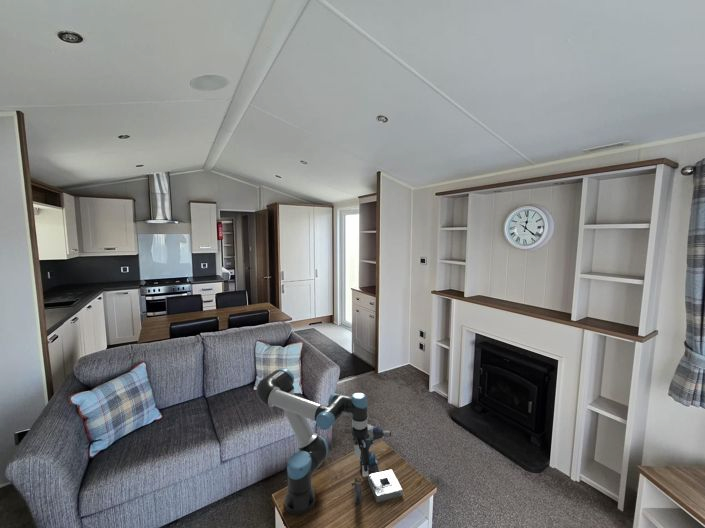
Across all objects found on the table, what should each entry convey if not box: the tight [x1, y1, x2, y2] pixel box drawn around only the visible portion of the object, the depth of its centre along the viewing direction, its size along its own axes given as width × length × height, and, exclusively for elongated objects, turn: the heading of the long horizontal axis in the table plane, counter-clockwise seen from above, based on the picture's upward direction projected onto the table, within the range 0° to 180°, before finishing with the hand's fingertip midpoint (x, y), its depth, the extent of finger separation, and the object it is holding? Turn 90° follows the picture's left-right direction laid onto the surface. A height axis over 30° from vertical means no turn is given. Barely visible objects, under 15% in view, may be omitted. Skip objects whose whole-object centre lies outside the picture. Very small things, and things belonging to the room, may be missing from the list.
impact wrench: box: [351, 424, 392, 472], centre depth 179 cm, size 8×22×25 cm, turn 78°
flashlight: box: [351, 476, 365, 505], centre depth 157 cm, size 6×4×12 cm, turn 106°
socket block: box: [367, 469, 403, 503], centre depth 166 cm, size 14×14×4 cm
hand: (361, 465), depth 155 cm, fingers open, 13 cm apart
